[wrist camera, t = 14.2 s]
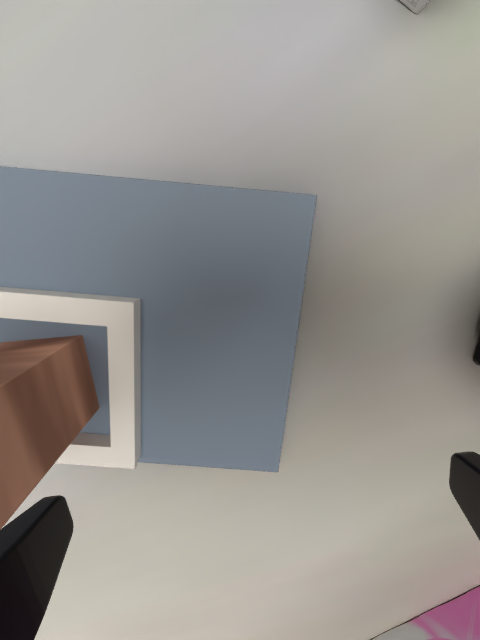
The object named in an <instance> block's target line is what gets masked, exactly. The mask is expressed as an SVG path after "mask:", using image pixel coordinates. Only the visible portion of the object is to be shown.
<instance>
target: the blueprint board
mask: <svg viewBox="0 0 480 640" xmlns="http://www.w3.org/2000/svg"><path fill="white" fill-rule="evenodd" d="M316 198H317V195H311V194H300V193H289V192H278V191H267V190H256V189H245V188H233V187H222V186H211V185H200V184H189V183H178V182H167V181H156V180H145V179H134V178H123V177H111V176H100V175H89V174H78V173H67V172H56V171H45V170H34V169H23V168H12V167H1V166H0V343H1V342H8V341H20V340H31V339H43V338H54V337H65V336H77V335H83V339H84V344H85V348H86V352H87V356H88V360H89V365H90V369H91V373H92V377H93V381H94V386H95V390H96V394H97V398H98V402H99V407H100V408H99V409H98V410H97V412H96V413H95V414H94V415H93V417H92V418H91V419H90V420H89V422H88V423H87V424H86V425H85V426H84V428H83V429H82V430H81V431H80V433H79V434H78V435H77V436H76V437H75V439H74V440H73V441H72V442H71V444H70V445H69V446H68V447H67V449H66V450H65V451H64V452H63V453H62V455H61V456H60V457H59V458H58V460H57V461H56V462H55V463H61V464H74V465H88V466H102V467H116V468H130V469H135V467H136V465H137V463H138V462H144V463H158V464H171V465H185V466H199V467H212V468H226V469H240V470H253V471H267V472H278V469H279V462H280V455H281V448H282V441H283V434H284V426H285V419H286V412H287V405H288V398H289V391H290V384H291V376H292V369H293V362H294V355H295V348H296V341H297V334H298V326H299V319H300V312H301V305H302V298H303V291H304V284H305V276H306V269H307V262H308V255H309V248H310V241H311V234H312V226H313V219H314V212H315V205H316Z"/></svg>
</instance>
